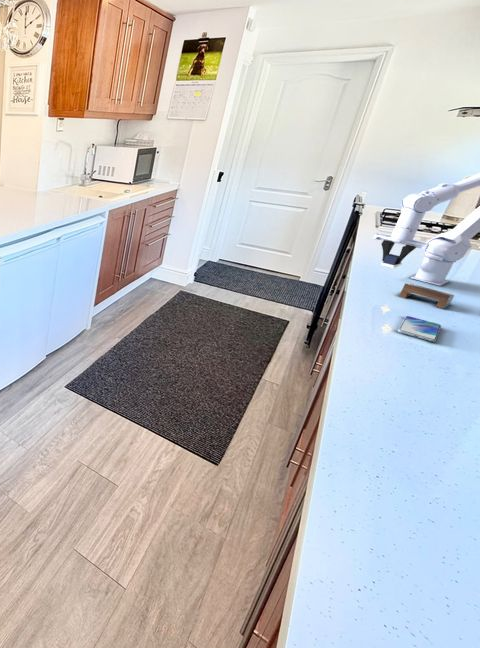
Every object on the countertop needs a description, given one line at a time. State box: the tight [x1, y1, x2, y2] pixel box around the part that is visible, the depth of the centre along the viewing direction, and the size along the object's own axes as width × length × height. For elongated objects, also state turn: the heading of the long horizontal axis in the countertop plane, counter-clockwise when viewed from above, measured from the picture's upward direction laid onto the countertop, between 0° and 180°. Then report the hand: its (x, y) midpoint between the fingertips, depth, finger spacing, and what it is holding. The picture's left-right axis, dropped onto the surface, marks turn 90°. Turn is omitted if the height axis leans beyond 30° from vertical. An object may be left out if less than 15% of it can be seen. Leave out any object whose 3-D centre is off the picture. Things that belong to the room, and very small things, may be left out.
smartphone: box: [397, 315, 442, 343], centre depth 113 cm, size 7×1×15 cm
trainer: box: [380, 253, 403, 269], centre depth 152 cm, size 8×4×4 cm, turn 120°
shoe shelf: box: [398, 283, 456, 310], centre depth 133 cm, size 7×10×5 cm
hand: (390, 262), depth 151 cm, fingers closed on trainer, 3 cm apart
